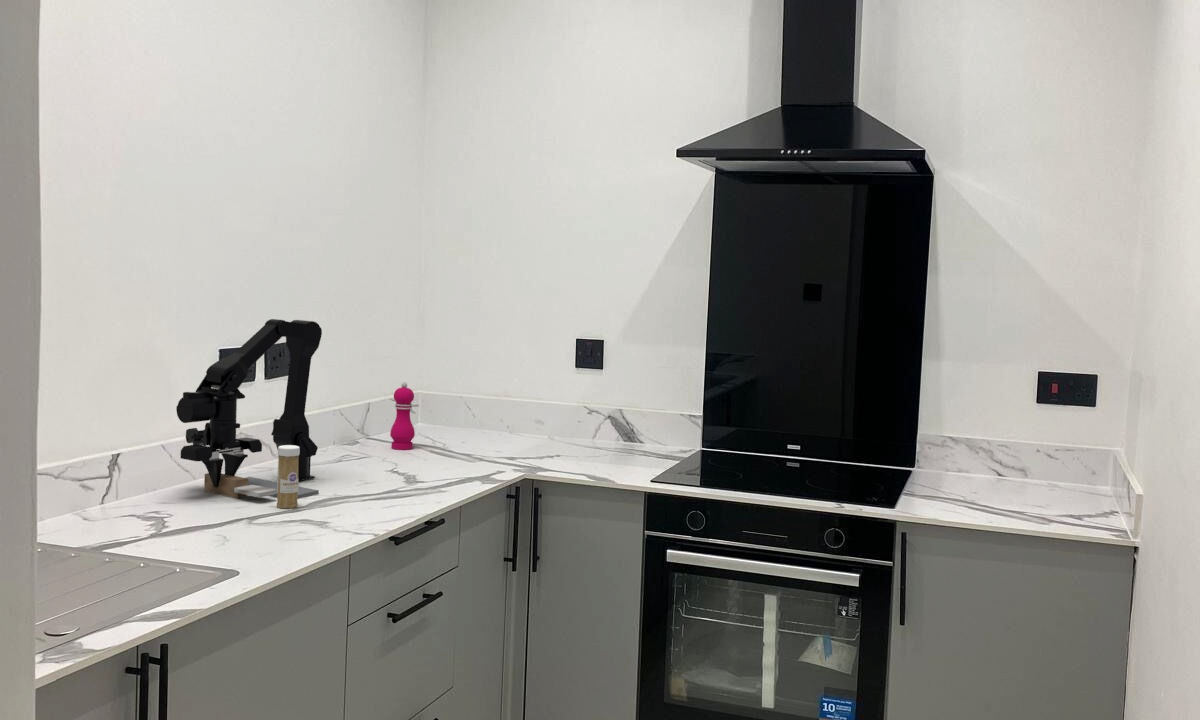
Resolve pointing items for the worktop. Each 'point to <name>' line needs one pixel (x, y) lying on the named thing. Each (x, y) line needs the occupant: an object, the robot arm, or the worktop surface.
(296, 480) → the sprinkles bottle
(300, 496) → the tool mat
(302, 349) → the robot arm
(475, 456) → the worktop surface
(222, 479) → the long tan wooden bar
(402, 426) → the pepper mill
